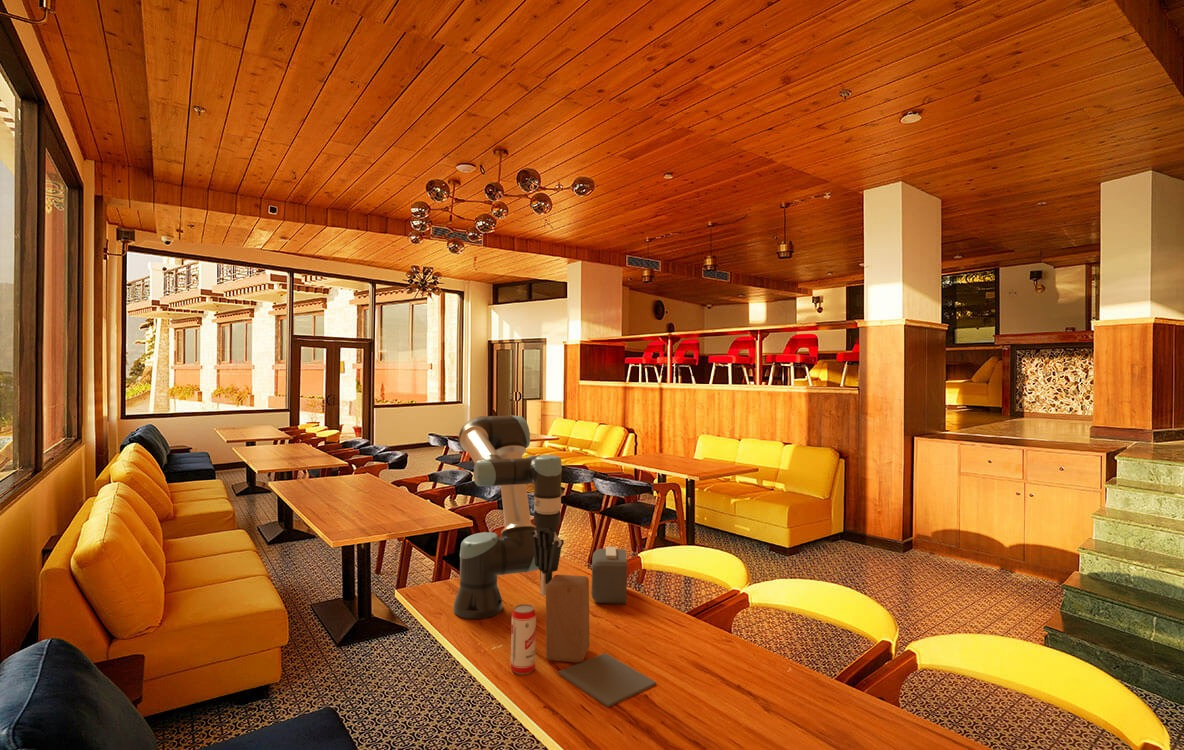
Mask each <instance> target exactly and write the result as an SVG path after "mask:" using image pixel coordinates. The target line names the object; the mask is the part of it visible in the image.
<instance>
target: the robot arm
mask: <svg viewBox="0 0 1184 750" xmlns="http://www.w3.org/2000/svg"><path fill="white" fill-rule="evenodd" d="M458 443H459V445H460V447H461V449H462V450H463V451H465V452H466V453H468V455H469V456H470V458H471V459H472V461H473V463H474V464H473V465H474V466H473V480H474V484H475V485H476V486H477V487H487V488H490V487H499V486H500V491H501V501H502V503H501V504H502V508H503V509H502V511H503V519H504V520H503V521H504V528H503V529H502V530H501V532H500V536H498V533H496V532H490V531H489V532H487V531H483V532H477V533H474V534H471V535H469V536H467V537H465V538H464V539H463V540H462V541H461V543H460V548H459V549H460V550H459V561H460V562H459V587H458V590H457V594H456V595H455V599H454V603H453V613H454V615H456V616H458V617H460V618H463V619H468V620H469V619H470V620H482V619H487V618H490V617H491V618H492V617H494V616H497V615H499V614H500V613H501V612H502V611H503V598H502V595H501V592H500V589H499V587H498V576H502V575H512V574H513V575H514V574H521V573H525V574H528V573H529V572H533V571H539V581H540V582H539V583H540V585H539V586H540V588H539V589H540V595H541V596H543V597H546V586H547V584H548V583H549V582H550V581H551V579H552V578H553V572H554V573H555V572H557V571H558V569H559V565H560V564H559V563H560V558H561V552H562V547H563V546H564V543H565V542H564V541H565V540H564V539H560V537H559V531H558V527H559V526H560V525H561V512H560V511H561V509H562V471H563V467H562V458H561V456H558V455H554V454H541V455H529V456H527V457H524V458H523V456H524V455H525V454H526V452H527V448H529V446H530V444H531V434H530V427H529V425H528V423H527V421H526V419H525V418H524V417H523V416H521V415H512V414H511V415H489V416H487V415H483V416H482V415H481V416H476V417H474V418H472V419H469V421H467V422H466V423H464V425H463V426H462V427H461V428H460V431H459V433H458ZM531 484H534V485H533V486H534V487H533V489H534V490H533V496H534V497H533V499H534V500H533V501H534V502H533V506H534V507H533V509H534V512H533V523H532V521H531V512H530V505H529V497H528V488H527V485H531Z"/></svg>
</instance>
